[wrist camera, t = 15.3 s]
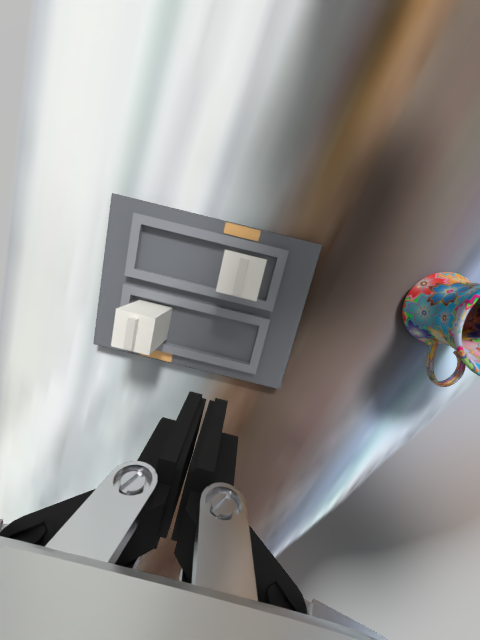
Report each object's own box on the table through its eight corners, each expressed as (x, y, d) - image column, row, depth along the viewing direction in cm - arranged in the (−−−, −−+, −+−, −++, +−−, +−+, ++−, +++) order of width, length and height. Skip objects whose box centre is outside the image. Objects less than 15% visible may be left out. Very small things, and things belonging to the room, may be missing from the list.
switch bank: (118, 196, 32) (108, 191, 30) (319, 245, 32) (324, 244, 30) (99, 340, 36) (89, 345, 34) (278, 383, 36) (280, 392, 34)
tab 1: (140, 299, 33) (111, 310, 27) (172, 307, 33) (152, 320, 27) (135, 331, 34) (106, 348, 28) (167, 338, 34) (146, 358, 28)
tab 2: (230, 250, 31) (223, 249, 25) (264, 259, 31) (267, 259, 25) (222, 285, 32) (214, 292, 26) (256, 293, 32) (256, 302, 26)
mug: (430, 252, 32) (514, 250, 22) (493, 295, 33) (604, 313, 22) (365, 337, 34) (412, 371, 24) (425, 375, 35) (496, 424, 25)
